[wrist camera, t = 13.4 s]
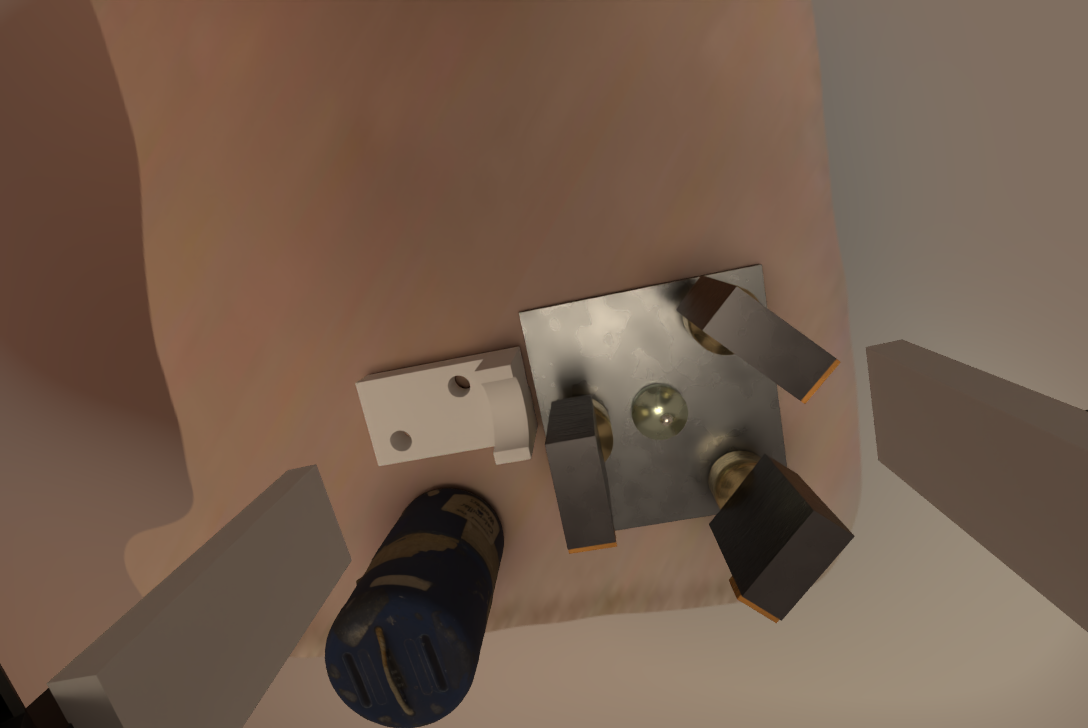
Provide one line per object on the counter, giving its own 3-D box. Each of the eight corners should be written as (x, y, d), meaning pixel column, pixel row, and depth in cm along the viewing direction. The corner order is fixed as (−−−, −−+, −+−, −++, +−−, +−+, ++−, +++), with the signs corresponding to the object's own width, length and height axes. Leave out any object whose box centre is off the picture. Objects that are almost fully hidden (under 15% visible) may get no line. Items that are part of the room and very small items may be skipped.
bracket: (520, 344, 47) (510, 364, 39) (537, 424, 48) (531, 459, 41) (371, 372, 48) (334, 397, 41) (392, 450, 50) (360, 487, 42)
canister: (405, 577, 52) (318, 752, 34) (395, 481, 50) (297, 615, 32) (509, 578, 51) (474, 756, 34) (504, 480, 49) (464, 616, 32)
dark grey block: (659, 314, 44) (691, 345, 32) (699, 260, 43) (748, 271, 31) (734, 367, 45) (794, 418, 32) (776, 316, 44) (854, 348, 31)
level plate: (519, 311, 46) (517, 315, 44) (758, 264, 44) (767, 265, 42) (567, 533, 50) (567, 546, 48) (787, 498, 48) (797, 510, 46)
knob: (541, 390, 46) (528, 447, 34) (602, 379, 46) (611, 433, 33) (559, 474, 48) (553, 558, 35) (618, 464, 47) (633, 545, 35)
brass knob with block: (739, 429, 46) (800, 501, 34) (790, 461, 46) (868, 544, 34) (686, 499, 48) (724, 593, 35) (735, 530, 48) (790, 633, 36)
